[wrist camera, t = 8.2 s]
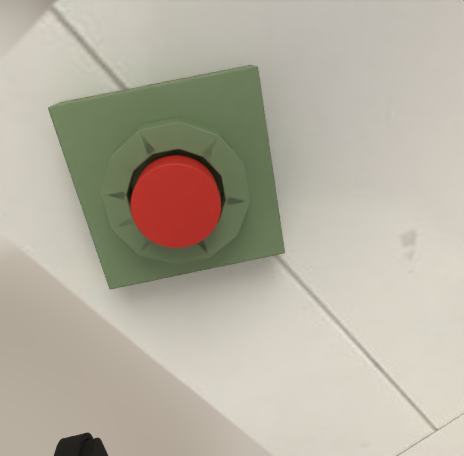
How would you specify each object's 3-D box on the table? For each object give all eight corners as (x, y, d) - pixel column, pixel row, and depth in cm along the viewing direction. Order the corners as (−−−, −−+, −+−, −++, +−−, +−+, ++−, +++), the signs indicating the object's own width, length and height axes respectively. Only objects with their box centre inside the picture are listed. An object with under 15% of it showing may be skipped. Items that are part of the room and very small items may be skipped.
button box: (60, 102, 22) (34, 112, 18) (251, 64, 22) (264, 67, 18) (115, 271, 26) (103, 307, 22) (277, 237, 26) (292, 268, 22)
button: (124, 164, 20) (119, 173, 18) (209, 146, 20) (211, 155, 18) (146, 241, 21) (143, 256, 20) (225, 225, 21) (228, 238, 20)
